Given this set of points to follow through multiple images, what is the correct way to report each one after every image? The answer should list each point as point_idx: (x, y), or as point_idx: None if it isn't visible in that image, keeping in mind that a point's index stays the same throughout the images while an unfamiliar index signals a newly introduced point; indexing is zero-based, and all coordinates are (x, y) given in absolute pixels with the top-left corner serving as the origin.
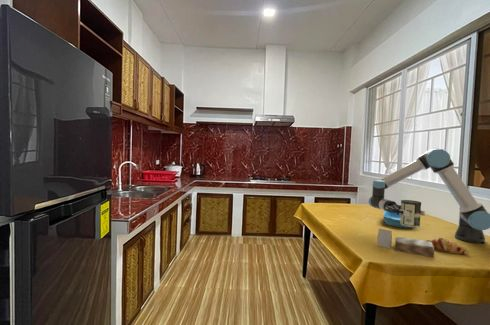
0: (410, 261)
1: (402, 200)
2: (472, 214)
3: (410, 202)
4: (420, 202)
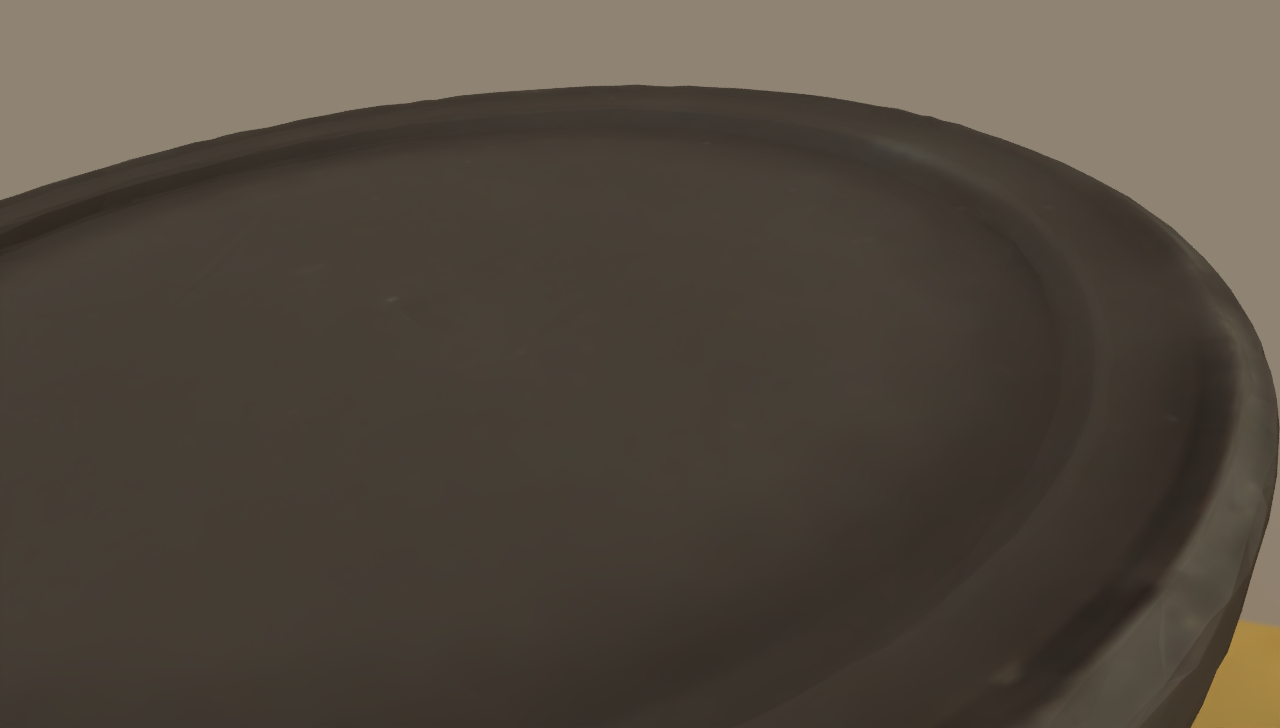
0: (1217, 702)
1: (878, 683)
2: None
3: (745, 174)
4: (101, 181)
